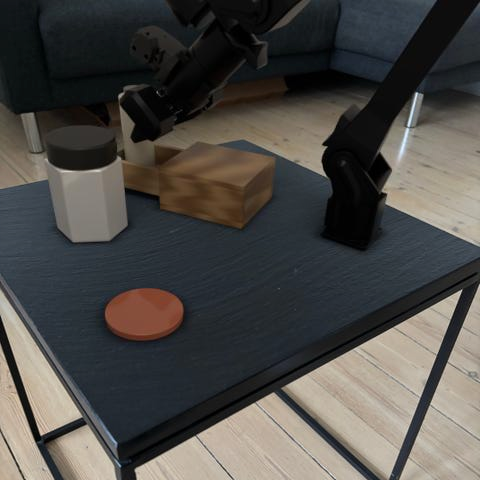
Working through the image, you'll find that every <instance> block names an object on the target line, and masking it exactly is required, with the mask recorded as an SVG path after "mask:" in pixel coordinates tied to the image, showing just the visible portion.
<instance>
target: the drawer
mask: <svg viewBox="0 0 480 480" xmlns="http://www.w3.org/2000/svg"><path fill="white" fill-rule="evenodd" d="M154 149H155V163H156V166H155V167H151V166H146V165H142V164H138V163H133V162H129V161H125V153H124V144H123V143H122V144H120V145H119V146H117V156H119V157H120V158H121V160H122V170H123V180H124V189H130V190H133V191H138V192H141V193H146V194H150V195H154V196H157V197H160V195H159V177H158V167H159V166H161V165H162V164H164V163H165V162H167V161H168V160H170V159H171V158H173V157H174V156H176V155H177V154H179V153H181V152H182V151H184V150H185V149H186V148H185V149H184V148H180V147H175V146H171V145H166V144H163V143H162V144H161V143H156V142H154Z"/></svg>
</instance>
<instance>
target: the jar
mask: <svg viewBox="0 0 480 480" xmlns="http://www.w3.org/2000/svg"><path fill="white" fill-rule="evenodd" d="M43 142H44V147H45V152H46V157H45V158H44V165H45V169H46V176H47V180H48V185H49V191H50V196H51V201H52V206H53V211H54V216H55V217H54V218H55V222H56V227H57V229H58V230H59V231H60V232H61V233H62V234H63V235H64V236H66V238H68V240H70V241H71V242H72V243H76V244H77V243H99V242H110V241H112V240H113V239H114V238H115V237H116V236H118V235H119V234H120V233H121V232H123V231H124V230H125V229H126V228H127V227H128V226H129V224H128V223H129V222H128V212H127V202H126V192H125V187H124V180H123V170H122V160H121V158H120V157H119V156H117V147H118V143H117V138H116V135H115V133H114V132H113V131H112V130H110V129H108V128H106V127H101V126H95V125H68V126H63V127H59V128H56V129H54V130H53V129H52V130H51V131H49V132H48V133H46V135H44V138H43Z"/></svg>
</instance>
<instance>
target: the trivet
mask: <svg viewBox="0 0 480 480" xmlns="http://www.w3.org/2000/svg"><path fill="white" fill-rule="evenodd" d="M184 313H185V312H184V306H183V303H182V301H181V299H179V298H178V297H177V295H175V294H173V293H171V292H169V291H167V290H163V289H160V288H154V287H153V288H152V287H151V288H150V287H144V288H143V287H142V288H136V289H130V290H127V291H125V292H122V293H120V294H118V295H117V296H115V297H113V298H112V299H111V300H110V301H109V303H108V304H107V305H106V307H105V310H104V320H105V324H106V326H107V328H108V329H109V330H110V331H111V332H112V333H113V334H114V335H116V336H118V337H119V338H122V339H125V340H130V341H135V342H136V341H137V342H144V341H145V342H146V341H147V342H148V341H154V340H158V339H162V338H164V337H167V336H168V335H171V334H172V333H174V332H175V331H177V329H178V328H179V327H180V326H181V324H182V323H183V320H184V315H185V314H184Z"/></svg>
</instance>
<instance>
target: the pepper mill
mask: <svg viewBox="0 0 480 480" xmlns="http://www.w3.org/2000/svg"><path fill="white" fill-rule="evenodd" d="M138 85H139V84H132V85H131V84H130V85H125V86H124V87H123V88H122V89H123V92H121V93H119V94H118V96H117V98H118V100H119V99H120V98H121V97H122V96H123V94H124V93H125V92H126V91H127V90H128V89H131V88H133V87H136V86H138ZM118 105H119V106H118V107H119V116H120V124H121V134H122V144H124V153H125V161H129V162H133V163H138V164H142V165H146V166H151V167H155V166H156V163H155V149H154V143H155V141H153V142H151V141H149V140H145V141H142V142H139V143H134V142H133V141H132V140H131V138H130V136H131V133H132V130H133V128H134V125H135V124H134V122H133V121H132V120H131V119H130V117H129V116H128V115H127V114H126V112H125V111H124V110H123V109H122V107H121V106H120V104H119V103H118Z"/></svg>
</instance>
